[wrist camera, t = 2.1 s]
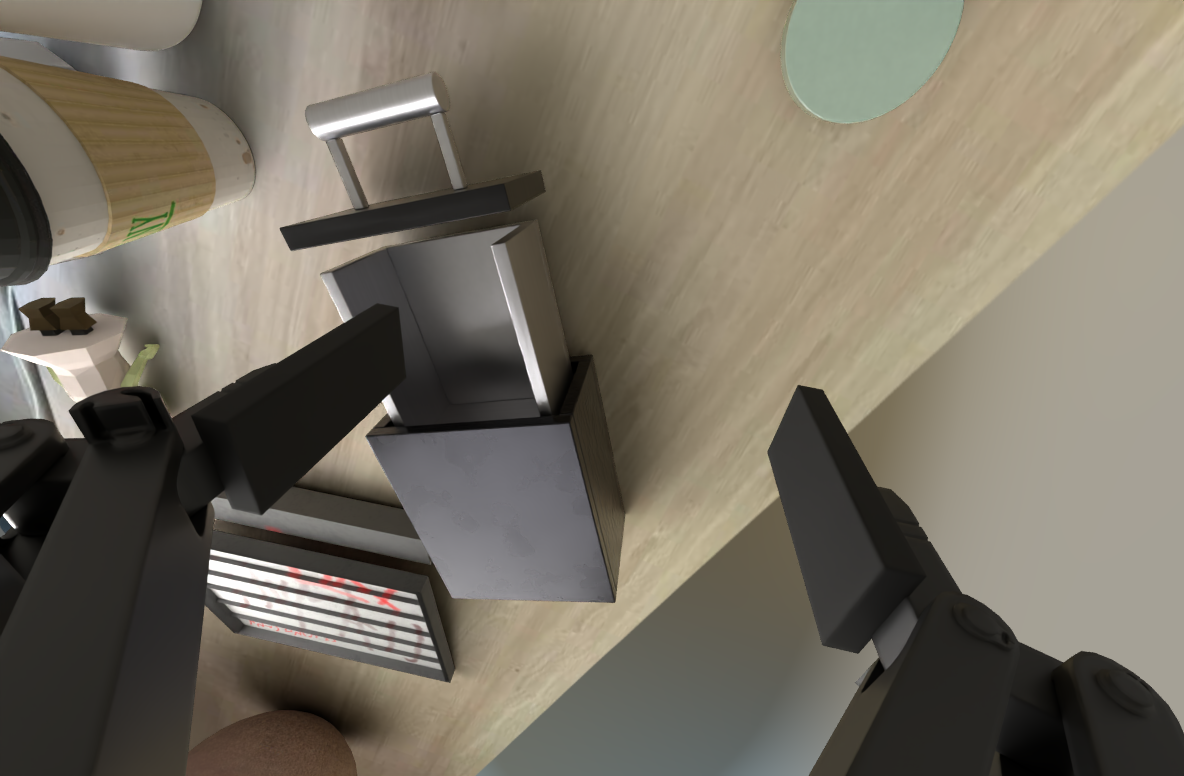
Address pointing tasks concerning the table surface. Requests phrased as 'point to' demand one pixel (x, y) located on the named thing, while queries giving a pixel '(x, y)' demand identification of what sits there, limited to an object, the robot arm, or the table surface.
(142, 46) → the cup
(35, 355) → the figurine
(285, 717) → the sphere
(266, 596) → the shutter
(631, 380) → the table surface
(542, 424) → the cabinet
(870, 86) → the plate
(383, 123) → the drawer
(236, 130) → the coffee cup
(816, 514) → the robot arm
